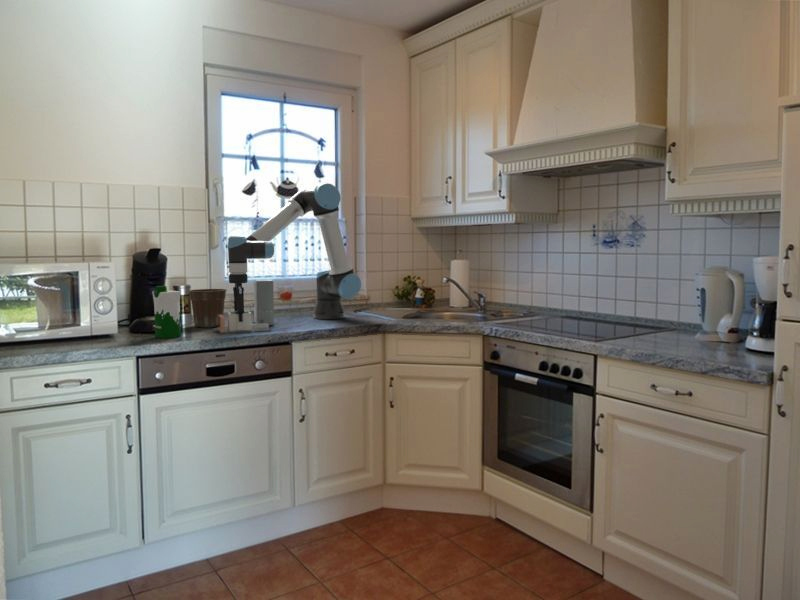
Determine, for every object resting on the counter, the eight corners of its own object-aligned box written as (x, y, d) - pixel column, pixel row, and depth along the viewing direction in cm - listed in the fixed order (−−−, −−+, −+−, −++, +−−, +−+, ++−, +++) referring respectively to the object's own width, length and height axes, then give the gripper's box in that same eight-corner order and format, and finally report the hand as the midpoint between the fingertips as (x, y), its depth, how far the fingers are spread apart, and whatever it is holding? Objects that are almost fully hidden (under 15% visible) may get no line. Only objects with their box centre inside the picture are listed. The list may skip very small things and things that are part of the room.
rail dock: (266, 327, 266) (266, 312, 265) (270, 331, 255) (270, 315, 254) (218, 329, 259) (218, 314, 258) (221, 333, 247) (220, 317, 247)
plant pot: (188, 324, 275) (187, 288, 274) (226, 322, 281) (224, 287, 279) (190, 329, 260) (189, 291, 258) (229, 327, 266) (228, 290, 264)
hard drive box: (274, 325, 272) (273, 280, 270) (256, 326, 270) (255, 281, 268) (270, 321, 287) (269, 278, 285) (254, 321, 284) (253, 279, 282)
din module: (249, 327, 260) (249, 310, 259) (251, 329, 255) (251, 311, 254) (228, 329, 257) (227, 311, 256) (229, 331, 251) (228, 312, 251)
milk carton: (151, 337, 239) (149, 286, 237) (173, 334, 246) (171, 284, 244) (162, 339, 233) (160, 287, 231) (184, 336, 240) (182, 285, 238)
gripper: (226, 272, 261) (227, 325, 264) (231, 274, 243) (232, 332, 245) (244, 272, 264) (245, 324, 266) (250, 274, 246) (251, 331, 248)
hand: (239, 328), depth 256 cm, fingers open, 7 cm apart
